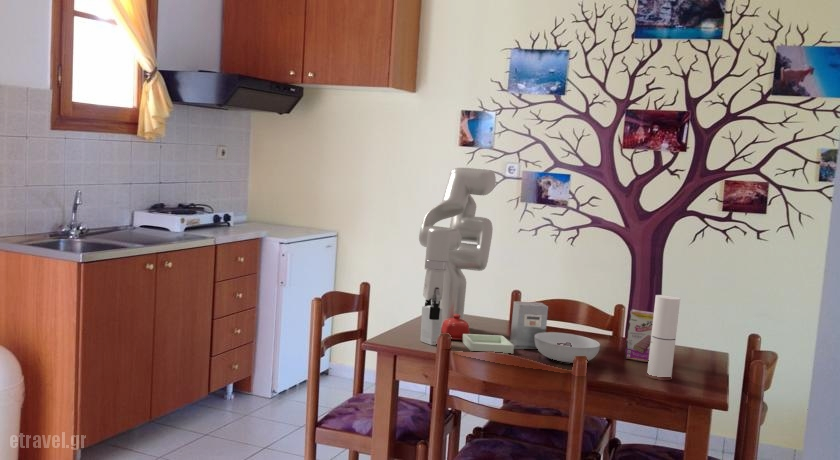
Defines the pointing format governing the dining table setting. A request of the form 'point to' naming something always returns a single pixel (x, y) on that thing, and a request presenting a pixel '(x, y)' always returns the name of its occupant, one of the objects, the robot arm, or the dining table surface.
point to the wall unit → (527, 323)
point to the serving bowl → (580, 346)
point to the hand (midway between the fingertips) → (431, 316)
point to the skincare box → (430, 327)
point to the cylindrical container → (663, 335)
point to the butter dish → (455, 327)
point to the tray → (487, 343)
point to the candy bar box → (639, 334)
